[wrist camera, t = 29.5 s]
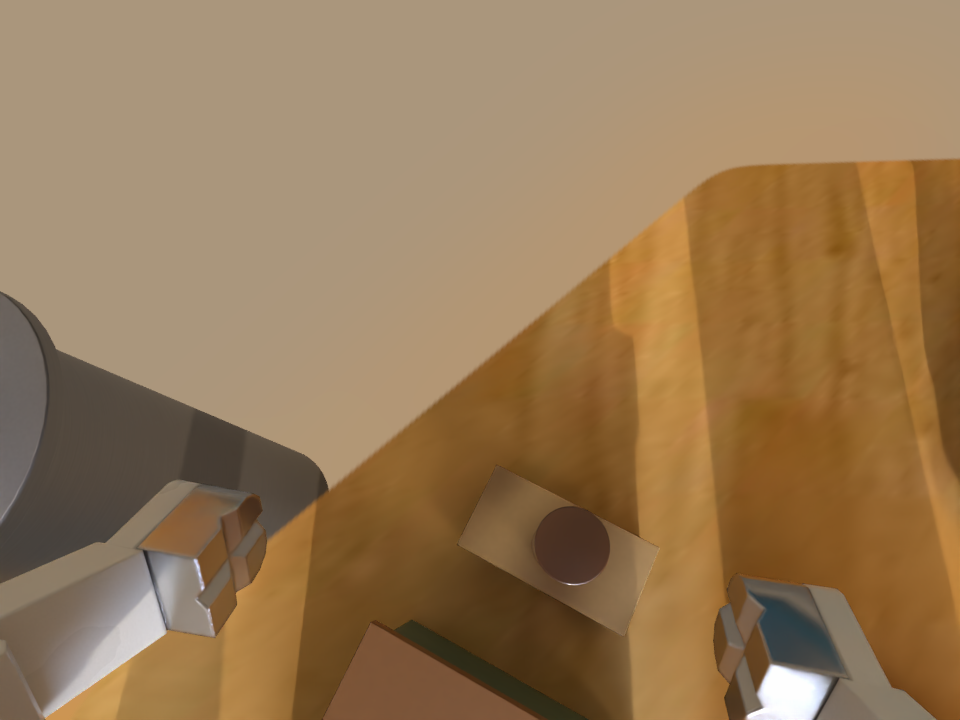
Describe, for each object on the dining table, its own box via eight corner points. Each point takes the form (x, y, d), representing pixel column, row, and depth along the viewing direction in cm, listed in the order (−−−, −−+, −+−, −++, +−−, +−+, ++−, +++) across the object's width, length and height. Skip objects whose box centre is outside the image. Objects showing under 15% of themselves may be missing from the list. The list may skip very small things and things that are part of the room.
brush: (462, 544, 34) (423, 542, 21) (499, 471, 36) (483, 426, 22) (614, 628, 32) (676, 684, 19) (647, 547, 33) (727, 547, 20)
